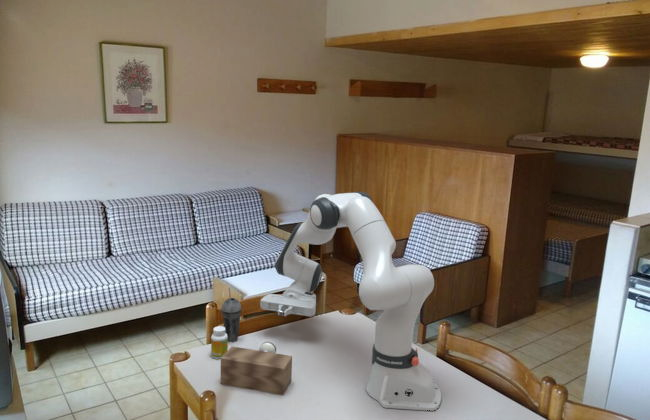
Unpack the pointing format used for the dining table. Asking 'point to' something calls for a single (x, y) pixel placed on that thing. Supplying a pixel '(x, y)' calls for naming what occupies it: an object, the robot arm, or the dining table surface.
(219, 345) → the supplement bottle
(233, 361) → the block
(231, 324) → the beverage cup
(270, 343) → the knob
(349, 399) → the dining table surface
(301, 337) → the dining table surface
